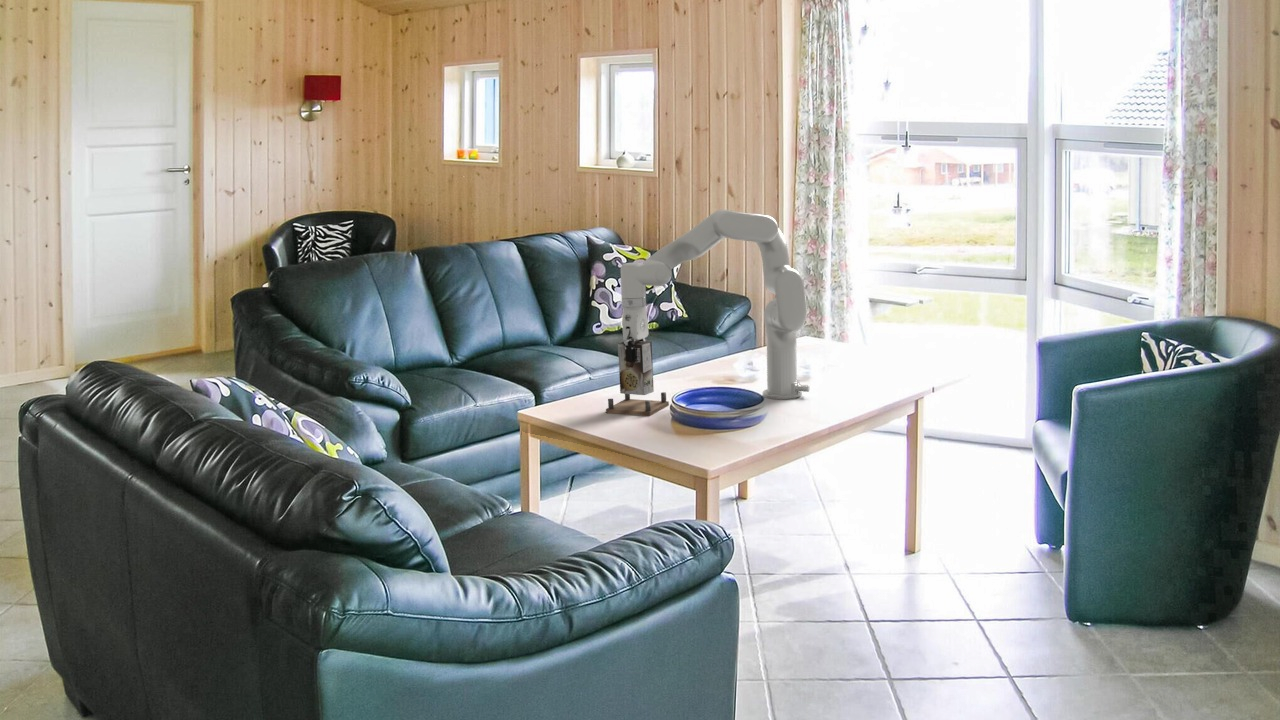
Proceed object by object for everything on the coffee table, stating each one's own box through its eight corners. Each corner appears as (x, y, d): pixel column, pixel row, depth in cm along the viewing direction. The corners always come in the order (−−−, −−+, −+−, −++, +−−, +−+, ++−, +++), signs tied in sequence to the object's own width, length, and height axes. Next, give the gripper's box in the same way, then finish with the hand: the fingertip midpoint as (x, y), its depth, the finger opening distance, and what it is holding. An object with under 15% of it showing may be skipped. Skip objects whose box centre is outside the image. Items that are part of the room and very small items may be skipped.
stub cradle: (668, 405, 383) (668, 392, 382) (650, 415, 369) (649, 402, 368) (625, 402, 389) (625, 389, 388) (606, 412, 375) (605, 399, 374)
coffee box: (654, 391, 378) (652, 341, 375) (644, 395, 373) (642, 344, 370) (629, 389, 383) (627, 339, 380) (619, 393, 378) (617, 342, 375)
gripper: (633, 307, 363) (635, 365, 367) (655, 299, 379) (657, 355, 382) (611, 306, 366) (613, 364, 370) (634, 298, 382) (636, 354, 385)
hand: (635, 359), depth 376 cm, fingers closed on coffee box, 6 cm apart
